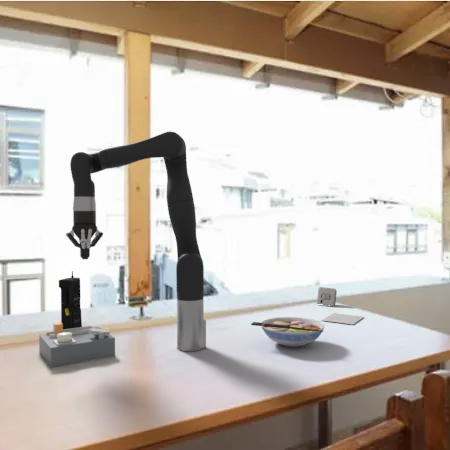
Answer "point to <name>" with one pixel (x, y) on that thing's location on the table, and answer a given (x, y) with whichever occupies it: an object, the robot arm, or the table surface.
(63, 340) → the push button
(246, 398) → the table surface
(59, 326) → the slider knob
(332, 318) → the paper stack
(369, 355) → the table surface
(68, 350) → the console
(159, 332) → the table surface
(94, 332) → the rocker switch
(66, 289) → the portable radio
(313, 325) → the ramen bowl
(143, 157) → the robot arm
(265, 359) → the table surface
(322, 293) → the electrical switch
